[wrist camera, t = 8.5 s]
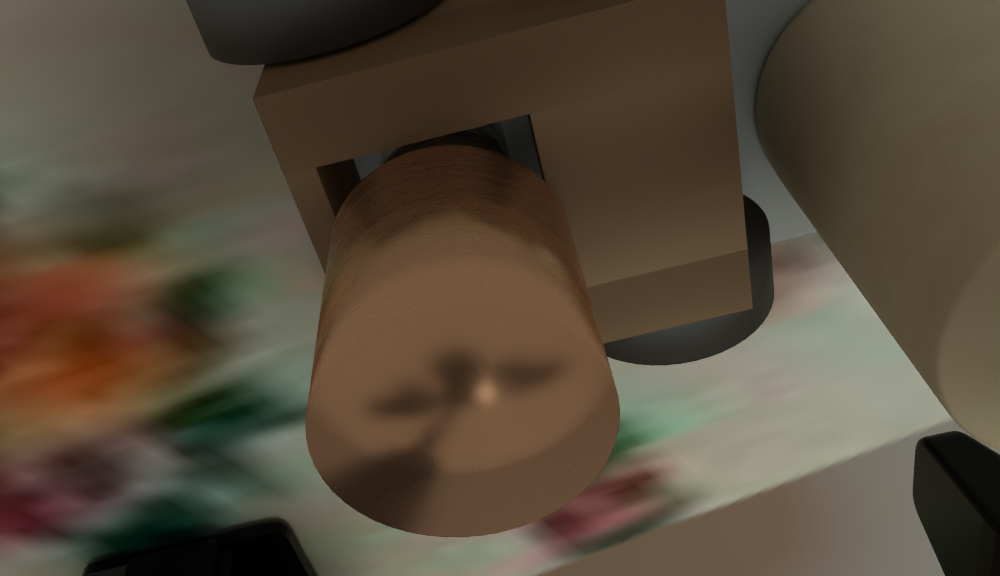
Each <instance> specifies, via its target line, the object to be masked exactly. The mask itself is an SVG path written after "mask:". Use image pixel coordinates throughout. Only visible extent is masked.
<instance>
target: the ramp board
mask: <svg viewBox="0 0 1000 576" xmlns="http://www.w3.org/2000/svg"><path fill="white" fill-rule="evenodd" d="M725 1H726V12H727V24H728V35H729V46H730V57H731V68H732V80H733V91H734V102H735V113H736V125H737V136H738V147H739V158H740V169H741V181H742V192H743V194H744V195H745V196H747V197H749V198H750V199H752V200H753V201H754V202H755V203H757V204H758V205H759V206H760V208H761V209H762V210H763V211H764V213H765V215H766V217H767V219H768V223H769V228H770V242H771V243H776V242H780V241H784V240H788V239H792V238H797V237H801V236H805V235H809V234H813V233H818V232H817V231H816V229H815V228H814V226H813V225H812V224H811V222H810V221H809V219H808V218H807V217H806V215H805V214H804V213H803V211H802V210H801V208H800V207H799V206H798V204H797V203H796V201H795V200H794V199H793V197H792V196H791V195H790V193H789V192H788V190H787V189H786V188H785V186H784V185H783V183H782V182H781V180H780V179H779V177H778V176H777V174H776V173H775V171H774V170H773V168H772V166H771V165H770V163H769V161H768V159H767V158H766V155H765V153H764V150H763V148H762V145H761V142H760V139H759V135H758V130H757V125H756V113H755V107H756V94H757V90H758V85H759V80H760V77H761V74H762V71H763V68H764V65H765V63H766V61H767V58H768V56H769V54H770V52H771V50H772V48H773V46H774V45H775V43H776V42H777V40H778V39H779V37H780V35H781V34H782V32H783V31H784V30H785V28H786V27H787V26H788V25H789V23H790V22H791V21H792V20H793V18H794V17H795V16H796V15H797V14H798V13H799V12H800V11H801V10H802V9H803V8H804V7H805V6H806V5H807V4H808V3H810V2H811V1H812V0H725ZM502 122H503V127H504V132H505V137H506V142H507V147H508V152H509V156H510V158H512V159H514V160H516V161H518V162H520V163H521V164H523V165H524V166H526V167H528V168H529V169H531V170H532V171H533V172H534V173H536V174H537V175H538V176H539V177H540V178H542V175H541V171H540V167H539V162H538V158H537V154H536V149H535V145H534V141H533V136H532V132H531V128H530V124H529V119H528V115H524V116H520V117H516V118H512V119H508V120H504V121H502ZM380 158H381V151H380V152H376V153H372V154H368V155H364V156H360V157H356V158H353V159H354V162H355V165H356V168H357V171H358V173H359V176H360V179H361V180H362V179H363V178H365V177H366V176H367V175H368V174H369V173H371V172H372V171H373V170H375V169H376V168H378V167H379V166H380Z"/></svg>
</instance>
